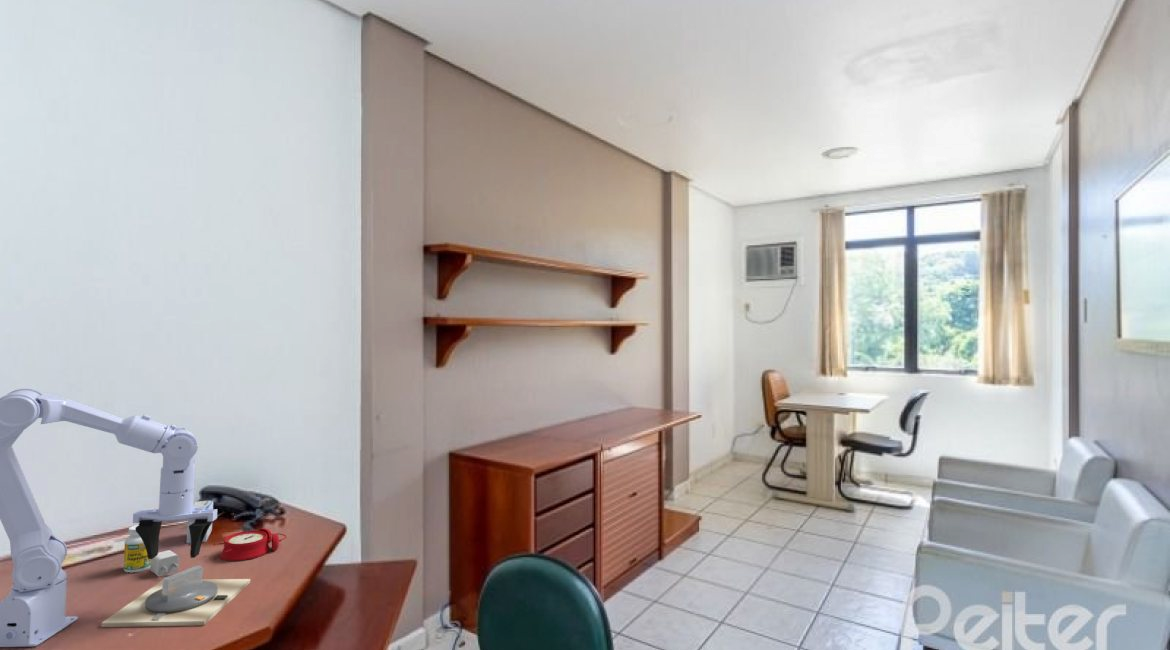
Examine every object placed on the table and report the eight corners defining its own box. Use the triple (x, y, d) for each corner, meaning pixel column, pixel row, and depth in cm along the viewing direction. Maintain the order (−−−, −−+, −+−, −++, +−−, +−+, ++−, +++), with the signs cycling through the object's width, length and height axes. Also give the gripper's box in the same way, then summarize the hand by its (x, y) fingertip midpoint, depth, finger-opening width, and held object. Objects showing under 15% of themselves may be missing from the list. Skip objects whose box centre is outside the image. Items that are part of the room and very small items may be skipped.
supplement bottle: (154, 561, 134) (155, 521, 134) (152, 570, 129) (153, 528, 129) (124, 566, 131) (126, 524, 131) (121, 575, 126) (123, 532, 126)
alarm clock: (209, 540, 139) (272, 512, 151) (214, 563, 140) (276, 534, 152) (225, 551, 133) (290, 522, 144) (231, 576, 134) (294, 544, 145)
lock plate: (204, 625, 107) (204, 618, 107) (101, 627, 105) (101, 620, 105) (250, 582, 125) (250, 577, 125) (162, 583, 123) (163, 577, 123)
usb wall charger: (170, 566, 132) (171, 549, 132) (182, 575, 128) (183, 557, 128) (150, 572, 128) (150, 554, 128) (161, 581, 124) (162, 562, 124)
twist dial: (231, 591, 119) (232, 566, 119) (172, 617, 107) (173, 590, 108) (190, 580, 123) (191, 556, 123) (130, 605, 112) (131, 578, 112)
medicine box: (192, 533, 152) (193, 501, 152) (212, 531, 154) (213, 499, 154) (186, 544, 145) (187, 510, 145) (206, 542, 147) (208, 508, 147)
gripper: (224, 483, 121) (221, 547, 121) (148, 484, 118) (145, 550, 118) (209, 493, 114) (206, 561, 114) (127, 494, 111) (124, 564, 111)
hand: (174, 556), depth 115 cm, fingers open, 7 cm apart
